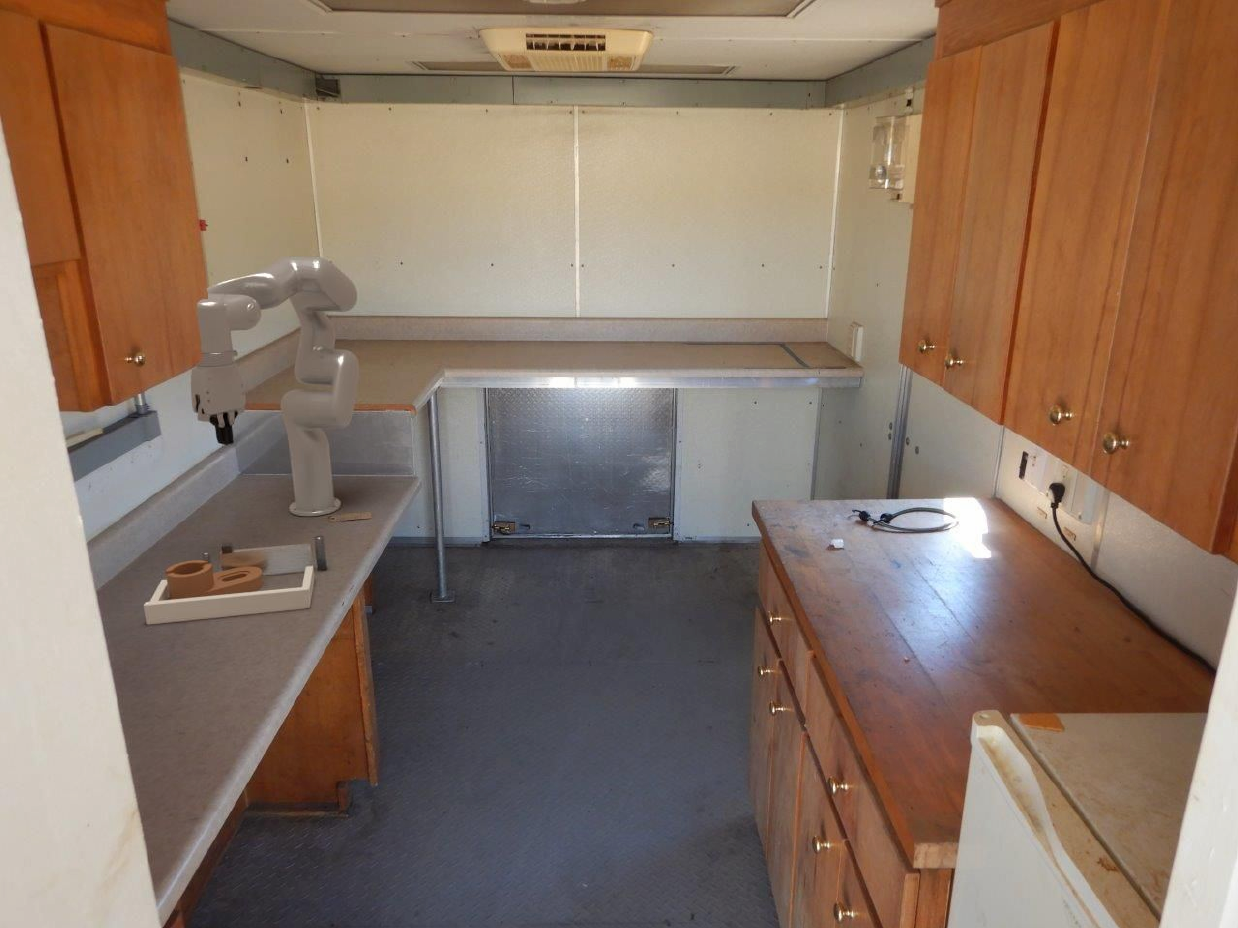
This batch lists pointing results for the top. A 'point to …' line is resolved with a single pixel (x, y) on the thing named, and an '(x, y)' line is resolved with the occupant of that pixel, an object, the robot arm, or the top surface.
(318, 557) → the hinge post
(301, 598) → the white u-shaped frame
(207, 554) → the post
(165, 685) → the top surface
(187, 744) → the top surface
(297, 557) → the gate
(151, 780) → the top surface
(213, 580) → the bracket
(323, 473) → the robot arm
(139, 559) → the top surface
